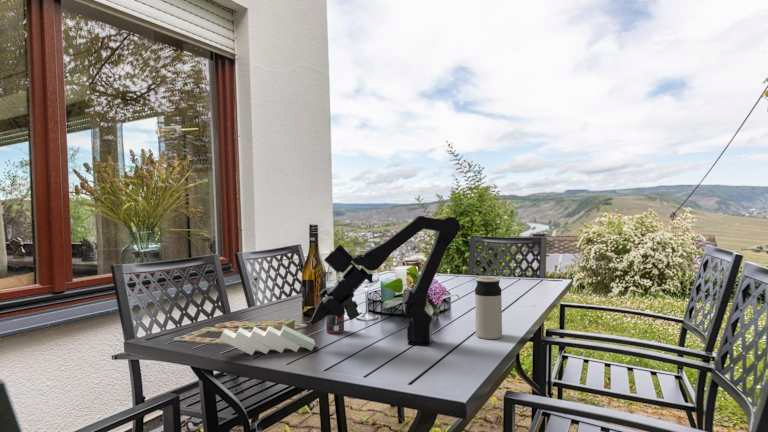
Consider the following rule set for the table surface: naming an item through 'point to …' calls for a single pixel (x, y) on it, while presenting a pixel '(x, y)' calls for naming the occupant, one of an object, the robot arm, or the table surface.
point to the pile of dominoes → (233, 324)
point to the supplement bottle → (334, 324)
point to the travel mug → (488, 308)
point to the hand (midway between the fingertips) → (311, 323)
